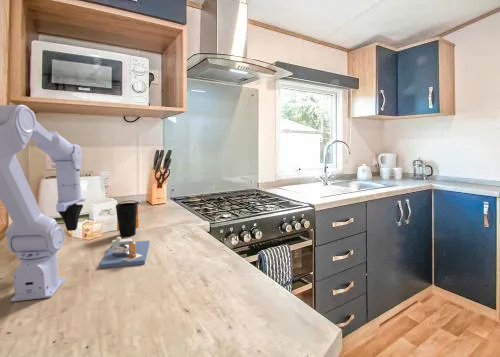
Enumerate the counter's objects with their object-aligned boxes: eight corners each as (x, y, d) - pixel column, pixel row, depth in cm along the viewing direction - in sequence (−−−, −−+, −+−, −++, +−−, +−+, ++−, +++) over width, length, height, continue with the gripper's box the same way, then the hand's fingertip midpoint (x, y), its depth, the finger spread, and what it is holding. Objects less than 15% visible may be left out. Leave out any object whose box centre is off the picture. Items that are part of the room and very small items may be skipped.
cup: (130, 238, 107) (129, 207, 106) (112, 237, 108) (111, 206, 107) (142, 232, 114) (141, 203, 113) (125, 231, 116) (124, 202, 115)
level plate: (144, 264, 84) (144, 250, 84) (100, 268, 81) (99, 254, 80) (149, 243, 101) (149, 232, 101) (112, 246, 98) (112, 235, 98)
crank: (108, 254, 88) (108, 240, 87) (123, 249, 92) (122, 236, 92) (127, 260, 83) (126, 245, 83) (141, 254, 88) (141, 240, 87)
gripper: (75, 187, 77) (78, 236, 78) (91, 181, 91) (93, 222, 92) (45, 188, 75) (49, 238, 77) (66, 181, 89) (69, 224, 91)
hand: (72, 229), depth 84 cm, fingers closed
